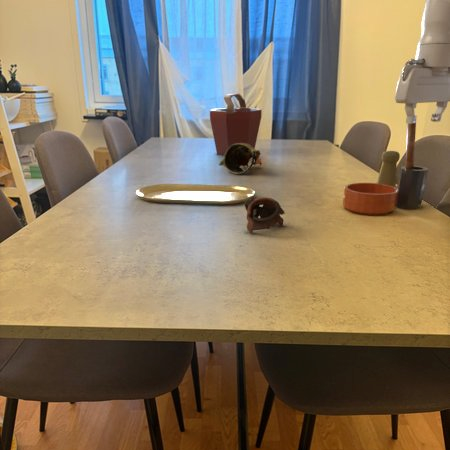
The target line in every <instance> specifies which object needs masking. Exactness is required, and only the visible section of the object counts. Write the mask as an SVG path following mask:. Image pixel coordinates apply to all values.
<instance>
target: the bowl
mask: <svg viewBox="0 0 450 450" xmlns="http://www.w3.org/2000/svg"><path fill="white" fill-rule="evenodd" d="M398 193H399V189H397V186H396V187H393V186H390V185H385V184H379V183H377V182H354V183H353V182H352V183H347V184H346V185H345V186H344V191H343V200H342V206H343V207H344V208H345V209H347V210H348V211H349V212H352V213H355V214H359V215H360V214H361V215H370V216H381V215H386V214H389V213H391V212H394V211H395V210H396V209H397V207H396V204H397V199H398Z"/></svg>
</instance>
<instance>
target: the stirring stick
mask: <svg viewBox="0 0 450 450" xmlns="http://www.w3.org/2000/svg"><path fill="white" fill-rule="evenodd" d="M406 128H407V129H406V147H405V148H406V149H405V166H406V167H405V168H406V169H412V170H414V166H415V150H416V134H417V133H416V131H417V121H416V122H415V123H413V124H407V123H406Z"/></svg>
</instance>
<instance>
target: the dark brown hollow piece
mask: <svg viewBox="0 0 450 450" xmlns="http://www.w3.org/2000/svg"><path fill="white" fill-rule="evenodd" d="M244 208H245V210H246V220H247V224H246V228H247V229H246V230H247V231H248V232H249V234H252V233H253V232H254V231H261V230H268V229H270V228H273V227H275V226H276V225H277V224H278V225H279V226H280V227H283V226H284V218H283V217H282V216H281V215H285V214H286V213H285V210H284V209H283V208H282V206H281V205H280V203H279V201H277V200H275V199H274V198H272V197H267V196H265V197H259V198H256V199H253V198H251V199H248V200H247V201H245V202H244Z"/></svg>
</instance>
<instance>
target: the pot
mask: <svg viewBox="0 0 450 450" xmlns="http://www.w3.org/2000/svg"><path fill="white" fill-rule="evenodd" d="M261 154H262V153H261V151H260V149H259V150H258V149H256V148H255V149H254V148H253V147H252V146H251V145H249V144H246V143H235V144H232V145H231V146H230V147H229V148H228V149H227V151H226V152H225V155H224V156H223V159H222V160H221V161H220V162H219V164H218V166H220V167H221V166H223V167H224V168H225V169H226V170H227V171H229V172H230V173H232V174H235V175H242V174H245V173H247V172H249V171H250V170H251V169H252V167H253V166H256V165H257V166H258V165H259V167H262V165H263V163H262V162H263V161H262V158H260V157H261ZM250 160H251V162H250ZM249 163H250V164H249ZM242 167H244V168H245V167H247V168H245V169H243V168H242Z"/></svg>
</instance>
